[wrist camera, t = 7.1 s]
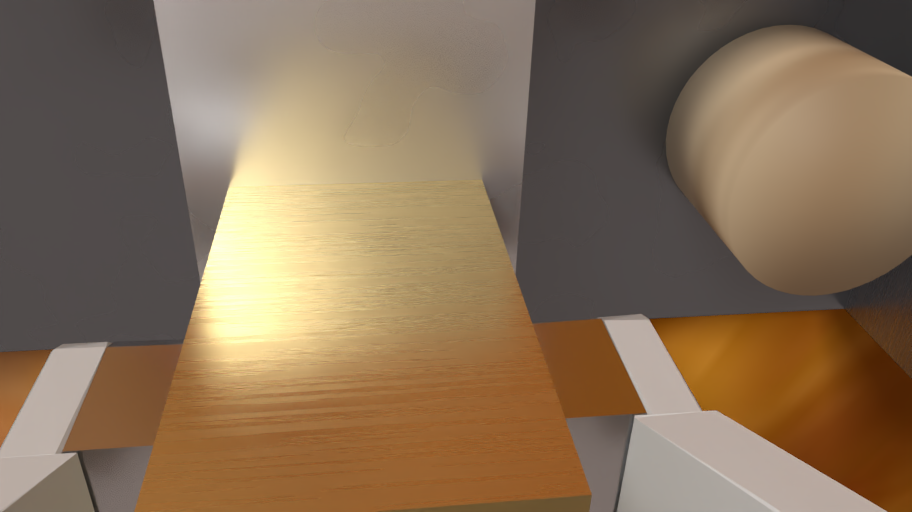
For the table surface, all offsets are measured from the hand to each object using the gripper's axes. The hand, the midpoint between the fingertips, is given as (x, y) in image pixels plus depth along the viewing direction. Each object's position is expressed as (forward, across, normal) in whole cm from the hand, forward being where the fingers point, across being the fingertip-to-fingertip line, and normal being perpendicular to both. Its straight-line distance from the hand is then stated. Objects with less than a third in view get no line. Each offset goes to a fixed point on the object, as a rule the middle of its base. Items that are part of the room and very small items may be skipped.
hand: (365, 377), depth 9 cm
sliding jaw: (+7, 0, 0) cm, 7 cm away
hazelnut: (+7, -8, 0) cm, 11 cm away
